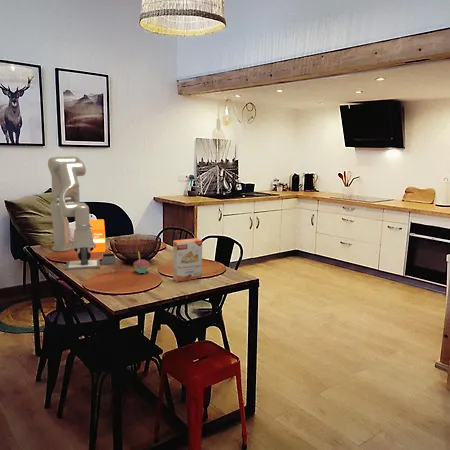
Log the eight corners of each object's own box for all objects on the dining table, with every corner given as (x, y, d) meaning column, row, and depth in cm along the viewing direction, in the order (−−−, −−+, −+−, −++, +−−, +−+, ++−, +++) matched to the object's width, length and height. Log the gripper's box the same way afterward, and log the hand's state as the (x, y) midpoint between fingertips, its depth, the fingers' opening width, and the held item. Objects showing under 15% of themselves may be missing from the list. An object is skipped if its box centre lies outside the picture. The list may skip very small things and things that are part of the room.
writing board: (67, 262, 250) (67, 260, 250) (99, 260, 255) (99, 259, 255) (65, 270, 237) (65, 268, 237) (99, 267, 242) (99, 266, 241)
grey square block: (102, 261, 254) (101, 253, 253) (114, 260, 256) (114, 253, 255) (102, 264, 247) (101, 257, 246) (115, 264, 249) (115, 256, 248)
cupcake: (130, 273, 233) (130, 252, 230) (139, 269, 241) (139, 248, 238) (144, 275, 230) (144, 254, 227) (152, 271, 238) (152, 250, 235)
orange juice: (91, 249, 279) (89, 218, 275) (105, 248, 281) (104, 218, 277) (90, 252, 271) (89, 221, 267) (105, 251, 274) (104, 220, 269)
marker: (81, 263, 246) (79, 242, 243) (88, 262, 247) (87, 242, 244) (80, 265, 242) (79, 244, 239) (88, 264, 243) (87, 243, 240)
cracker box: (177, 282, 220) (176, 242, 216) (172, 279, 225) (172, 240, 221) (202, 279, 227) (202, 240, 222) (197, 275, 232) (197, 237, 227)
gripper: (98, 225, 245) (100, 256, 249) (67, 226, 241) (69, 258, 245) (98, 228, 238) (99, 260, 242) (66, 229, 234) (68, 262, 238)
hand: (84, 259), depth 244 cm, fingers closed on marker, 3 cm apart
